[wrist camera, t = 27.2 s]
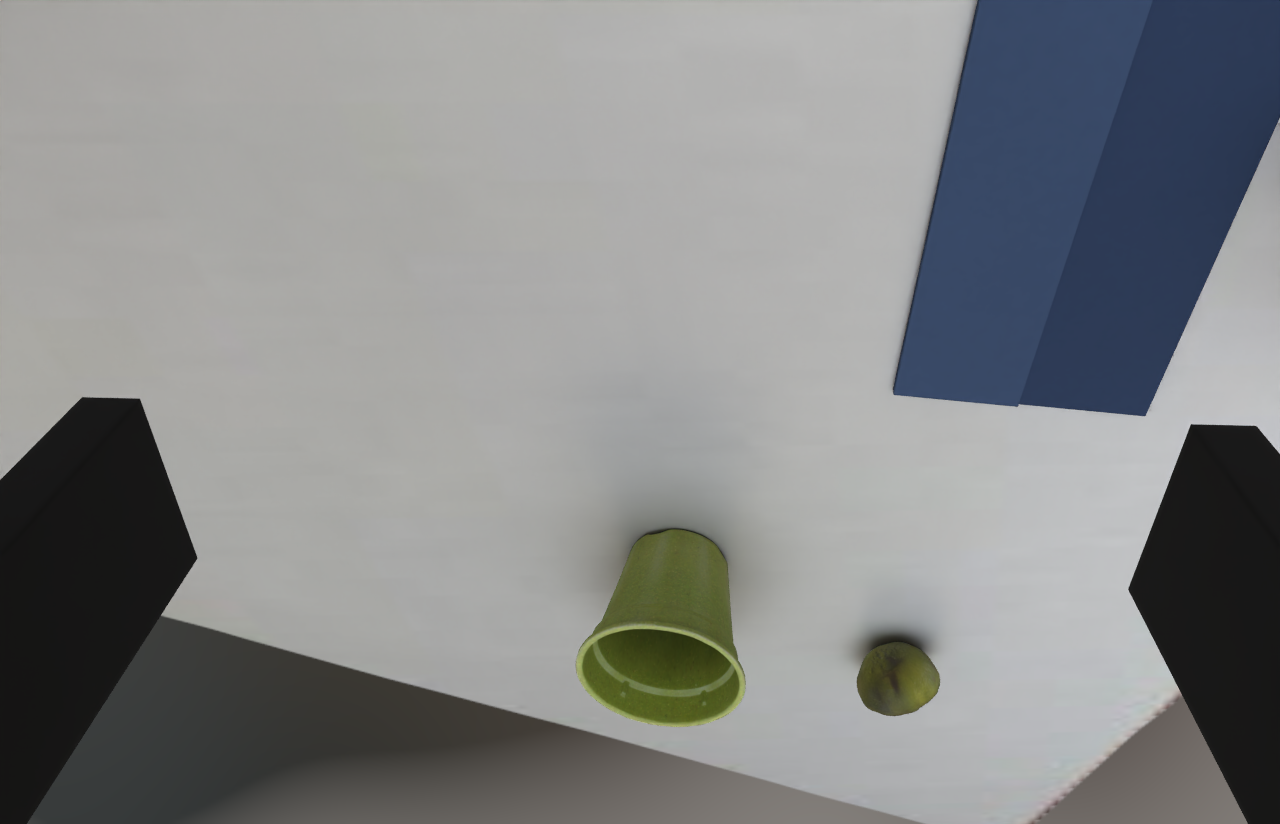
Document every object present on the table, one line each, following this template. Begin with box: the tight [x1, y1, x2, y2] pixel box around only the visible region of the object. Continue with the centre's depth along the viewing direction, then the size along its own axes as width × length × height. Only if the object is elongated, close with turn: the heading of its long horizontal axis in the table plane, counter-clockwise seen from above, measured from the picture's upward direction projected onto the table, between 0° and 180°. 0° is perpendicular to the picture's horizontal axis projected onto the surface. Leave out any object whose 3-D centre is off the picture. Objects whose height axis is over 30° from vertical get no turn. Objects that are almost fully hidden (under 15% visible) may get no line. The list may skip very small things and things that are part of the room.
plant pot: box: [576, 529, 746, 727], centre depth 56 cm, size 9×9×9 cm
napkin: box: [893, 0, 1280, 416], centre depth 41 cm, size 20×12×1 cm, turn 0°
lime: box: [857, 642, 940, 716], centre depth 59 cm, size 4×5×5 cm
